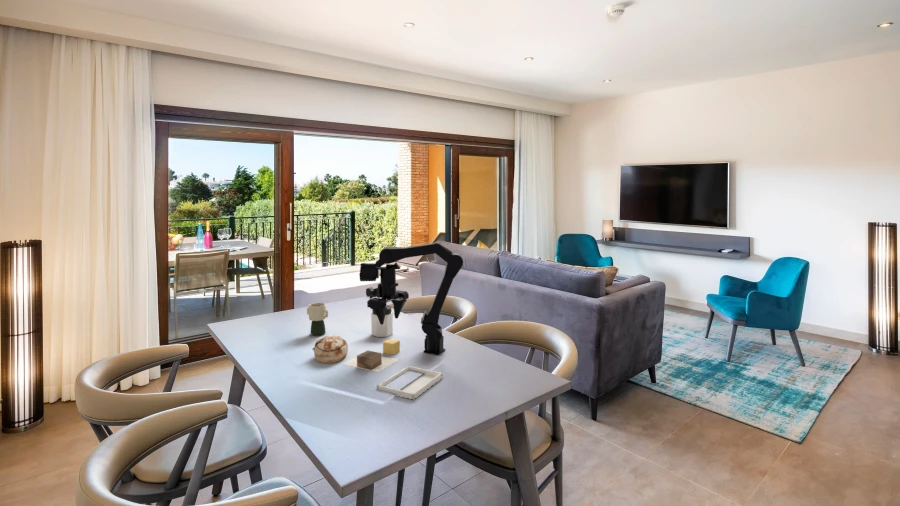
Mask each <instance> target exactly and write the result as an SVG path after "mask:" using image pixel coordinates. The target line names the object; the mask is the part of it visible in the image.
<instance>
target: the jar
mask: <svg viewBox="0 0 900 506" xmlns="http://www.w3.org/2000/svg"><path fill="white" fill-rule="evenodd" d="M386 307H387V310H386V314H385V319H384V323H383V325H381V324H380V322H379V319H378V317H377V314H376V312H375V311H374V310H373V309H371V310H372V311H371V316H370V317H371V318H370V319H371V324H370V325H371V335H372V336H374V337H376V338H384V337H385V338H388V337H390V336H391V335H393V334H394V333H393V331H394V328H393V325H394V324H393V321H394V319H393V315H394V312H392V306H391V305H389V304H386Z"/></svg>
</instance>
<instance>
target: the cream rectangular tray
mask: <svg viewBox="0 0 900 506" xmlns="http://www.w3.org/2000/svg"><path fill="white" fill-rule="evenodd" d="M408 371H414V372H419V373H422V374H420V375H419V376H417V377H416V378H415V379H414V380H412V381H410V382H408V383H407V384H406V385H405V386H403V387H402V388H400V389H398V388H397V389H396V388H392V387H388V386H385V385H387V384H389V383H390V382H392V381H394V379H397V378H398V377H400V376H401V375H403V374H405V373H406V372H408ZM440 379H441V380H442V379H443V372H441V371H435V370H431V369H426V368H421V367H416V366H411V365H407V366H406V367H404V368H403V369H401V370H399V371H398V372H396V373H395V374H393V375H391V376H389V377H388V378H386V379H385V380H383V381H381V382H380V383H379V384H376V389H377V390H380V391H384V392H389V393H393V394H392V396H395V395H396V396H395V397H399V396H400V398H403V397H404V398H405V399H407V398H409V399H408V400H411V399H413V400H412V401H414V399H415V398H416V399H417V398H419V397H420V396H422V395H423V394H424V393H426V391H428V390H429V389H431V388H432V387H433V386H434V385H436V384H437V383H438V382H440V381H441V380H440ZM436 382H437V383H436ZM435 383H436V384H435ZM432 385H433V386H432ZM431 386H432V387H431ZM427 389H428V390H427ZM423 392H424V393H423ZM419 395H420V396H419ZM418 396H419V397H418ZM416 399H415V400H416Z"/></svg>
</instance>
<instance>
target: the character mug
mask: <svg viewBox="0 0 900 506" xmlns="http://www.w3.org/2000/svg"><path fill="white" fill-rule="evenodd" d="M306 314H307V315H308V319H309V321H311V323H310V334H311V335H313V336H318V335H320V334H321V335H322V334H326V325H325V319H326V318H328V317H329V310H328V309H327V304H326V303H324V302H313V303H309V304H308V306H307V308H306Z"/></svg>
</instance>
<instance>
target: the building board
mask: <svg viewBox="0 0 900 506" xmlns="http://www.w3.org/2000/svg"><path fill="white" fill-rule="evenodd" d="M398 361H399V359H397V358H392V357H387V356H383V355H382V364H381V365H379V366H378V367H376V368H374V369H372V370H369V369H365V368H360V367H357V356H356V357H354V358H352V359H350V360H348V361H346V362H344V363H342V365H343V366H349V367H354V368H358V369H362V370H366V371H370V372H375V373H379V372H381V371H383V370H384V369H386V368H388V367H389V366H391V365H393V364H394V363H396V362H398Z"/></svg>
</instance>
